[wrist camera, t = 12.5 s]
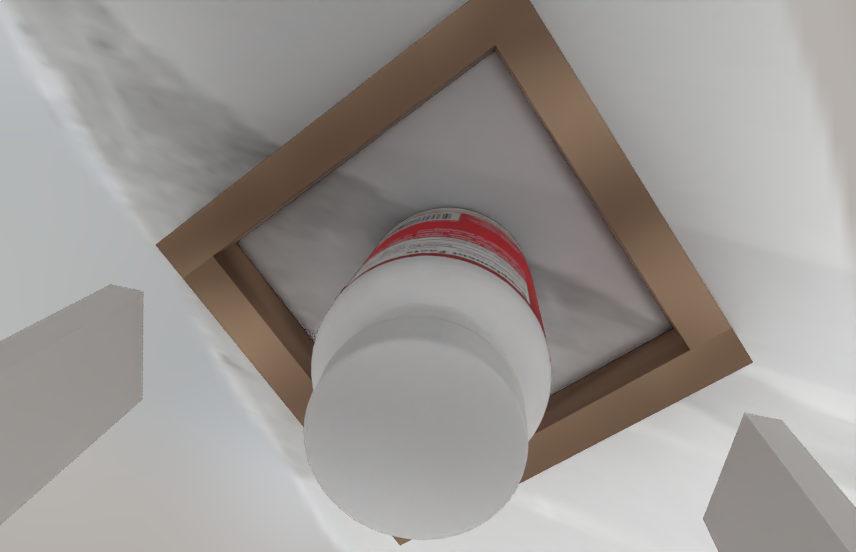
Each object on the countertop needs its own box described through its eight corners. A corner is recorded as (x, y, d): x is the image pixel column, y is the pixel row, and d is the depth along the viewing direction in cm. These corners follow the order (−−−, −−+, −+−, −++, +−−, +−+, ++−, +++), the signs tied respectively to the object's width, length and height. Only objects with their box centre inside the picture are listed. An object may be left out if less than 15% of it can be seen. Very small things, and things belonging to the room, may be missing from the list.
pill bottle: (472, 386, 24) (455, 617, 13) (342, 304, 23) (217, 475, 13) (565, 262, 22) (633, 415, 11) (425, 170, 21) (360, 241, 11)
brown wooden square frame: (183, 232, 23) (155, 244, 21) (508, -19, 19) (509, -31, 17) (406, 512, 26) (400, 545, 24) (730, 339, 22) (753, 362, 20)
